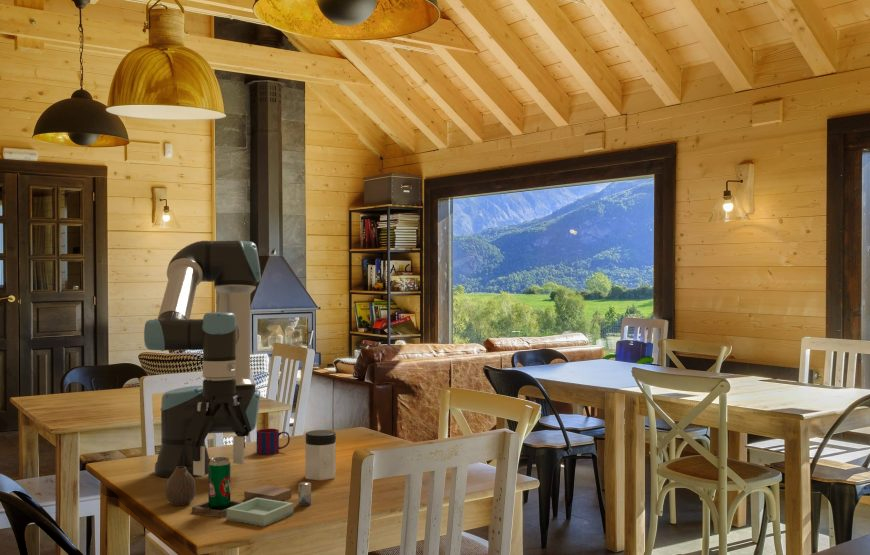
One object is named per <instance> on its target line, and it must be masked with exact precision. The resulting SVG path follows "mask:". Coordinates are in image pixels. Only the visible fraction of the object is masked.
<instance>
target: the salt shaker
mask: <svg viewBox="0 0 870 555" xmlns="http://www.w3.org/2000/svg"><path fill="white" fill-rule="evenodd" d="M297 488H298V491H297V493H298V506H299V507H309V506H311V505H312V482H307V481H303V482H299V483H298V486H297Z"/></svg>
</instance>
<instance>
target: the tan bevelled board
mask: <svg viewBox="0 0 870 555" xmlns="http://www.w3.org/2000/svg"><path fill="white" fill-rule="evenodd" d="M243 494H244V495H243V496H244V497H243V500H244V501H249V500H251V499H254V498H263V499H270V500H276V501H282V502H286V501H287V500H289V499H291V498H292V489H291V488H286V487H285V488H284V487H278V486H271V485H265V484H262V485H259V486H256V487H253V488H250V489H247V490H244V492H243Z"/></svg>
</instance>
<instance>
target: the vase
mask: <svg viewBox="0 0 870 555" xmlns="http://www.w3.org/2000/svg"><path fill="white" fill-rule="evenodd" d="M196 487H197V486H196V481H195V478H194V476H193V477H192V475H191V474H190V473H189V472H188V470H187V468H186V467H185V466H179V467H176V468H175V471H174V472H173V474H172V475H171V476H170V478H168V480H167V482H166V485H165V493H166V498H167V500H168V502H169V503H170V504H171V505H172V506H178V507H179V506H180V507H181V506H186V505H189V504H190V503H191V502H192V501H193V499H194V498H195V496H196V489H197V488H196Z"/></svg>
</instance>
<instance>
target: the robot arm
mask: <svg viewBox="0 0 870 555" xmlns="http://www.w3.org/2000/svg"><path fill="white" fill-rule="evenodd" d="M259 258H260V257H259V252H258V247H257V245H256V243H254V241H248V240H247V241H246V240H239V239H238V240H199V241H195V242H192V243H190V244H188V245H186V246H184V247H183V248H182V249H180V250H179V251H177V252H176V254H174V255H173V257H172V258H171V259H170V261H169V263H168V266H167V269H166V278H167V279H168V280H167V283H166V287H165V291H164V293H163V298H162V302H161V304H160V308H159V311H158V317H157V318H154V319H148V320H146V322H145V324H144V327H143V328H144V329H143V339H144V340H143V341H144V346H145V348H146V349H147V350H150V351H161V352H164V351H202V353H203V354H202V355H203V356H202V377H203V378H204V379H203V380H202V385H192V386H184V387H180V388H174V389H171V390H168V391H166V392H164V393H163V394H162V397H161V406H160V413H161V416H160V418H161V421H160V422H161V426H160V428H161V430H160V431H161V432H160V433H161V434H160V435H161V436H160V437H161V438H160V439H161V442H160V444H161V446H160V449H159V451H158V456H157V459H156V462H155V463H154V475H156V476H158V477H161V478H168V479H169V478H170V476H171V475H172V474H173V472H174V471H175V468H176V467H179V466H185V467H186V468H187V470H188V472H189V473H190V474H191V475H192V477H193V478H194V477H198V476H202V477H203V476H205V475H206V474H208V464H209V462H210V459H211V458H210V457H209V453H208V449H207V448H208V447H207V445H206V438H207V436H208V434H229V433H230V434H232V433H233V434H235V435H233V436H232V464H236V465H237V464H238V465H244V464H245V448H246V437H248V436H249V435H250V433H251V432H252V431H254V430H255V429H256V426H257V423H258V415H259V410H260V404H261V403H260V402H261V390H259V389H256V383H255V381H253V380H252V379H251V294H252V293H253V292H254V291H255V290H256V289H257V288H256V287H257V283H259V282H261V281H262V275H261V265H260V259H259ZM201 282H207V283H208V282H209V283H210V282H214V283H213V289H215V291H217V293H218V294H219V306H218V307H219V311H218V312H217V311H216V312H215V311H212V312H206V313H205V314H203V318H198V319H197V318H195V319H194V318H191V313H192V310H193V309H192V308H193V305H194V304H193V303H194V300H195V297H196V291H197V286H198V285H200V283H201Z"/></svg>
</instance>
